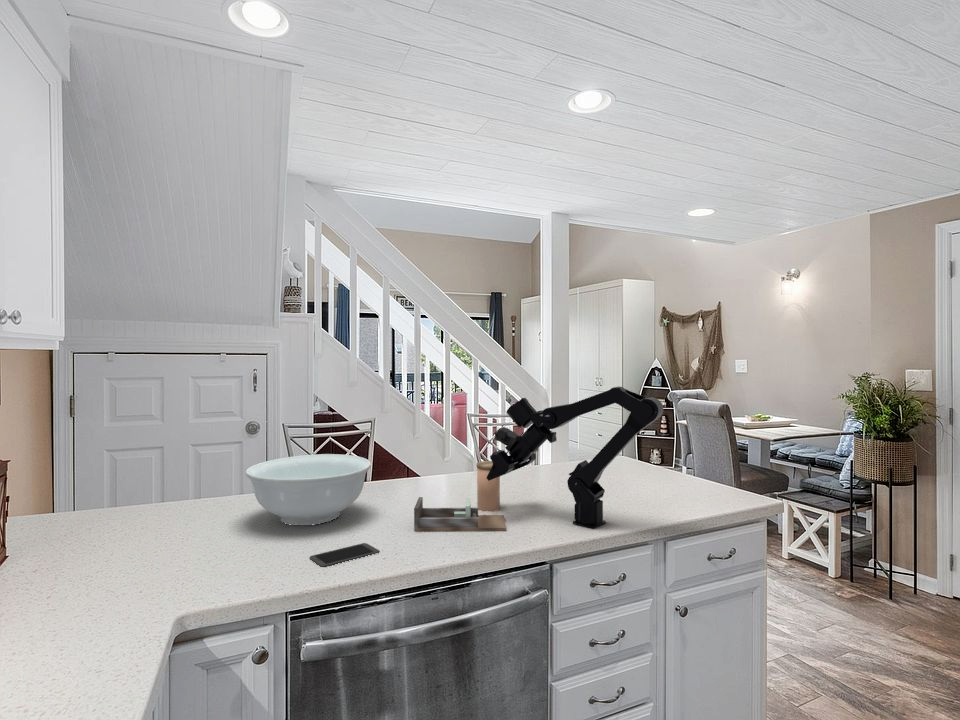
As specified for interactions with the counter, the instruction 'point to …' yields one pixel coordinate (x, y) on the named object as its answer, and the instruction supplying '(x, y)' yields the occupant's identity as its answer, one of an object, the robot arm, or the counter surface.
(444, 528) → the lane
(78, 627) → the counter surface
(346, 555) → the cell phone
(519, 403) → the robot arm
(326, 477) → the bowl
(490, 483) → the jar
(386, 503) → the counter surface
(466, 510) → the block
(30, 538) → the counter surface
